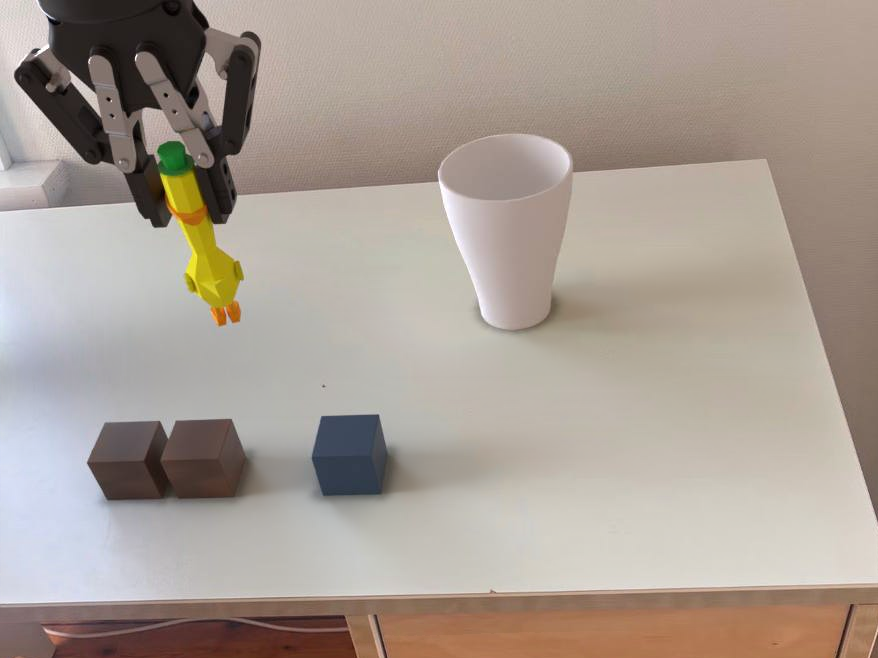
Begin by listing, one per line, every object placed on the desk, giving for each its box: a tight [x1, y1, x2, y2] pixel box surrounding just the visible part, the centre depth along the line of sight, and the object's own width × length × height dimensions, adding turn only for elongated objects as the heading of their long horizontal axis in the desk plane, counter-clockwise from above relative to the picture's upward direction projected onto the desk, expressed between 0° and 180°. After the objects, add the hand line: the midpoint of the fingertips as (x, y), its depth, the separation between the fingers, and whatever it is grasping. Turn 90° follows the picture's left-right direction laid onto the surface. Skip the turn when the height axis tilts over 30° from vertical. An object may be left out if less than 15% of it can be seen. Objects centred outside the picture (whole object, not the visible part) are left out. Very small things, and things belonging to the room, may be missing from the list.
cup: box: [437, 133, 574, 331], centre depth 80 cm, size 10×10×14 cm
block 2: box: [160, 418, 247, 500], centre depth 73 cm, size 4×4×4 cm
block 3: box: [310, 413, 389, 497], centre depth 72 cm, size 4×4×4 cm
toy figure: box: [156, 140, 245, 327], centre depth 60 cm, size 7×4×12 cm, turn 17°
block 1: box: [86, 420, 170, 501], centre depth 74 cm, size 4×4×4 cm
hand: (192, 217), depth 59 cm, fingers closed on toy figure, 3 cm apart
